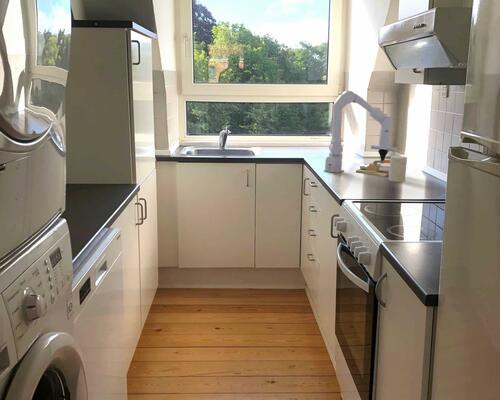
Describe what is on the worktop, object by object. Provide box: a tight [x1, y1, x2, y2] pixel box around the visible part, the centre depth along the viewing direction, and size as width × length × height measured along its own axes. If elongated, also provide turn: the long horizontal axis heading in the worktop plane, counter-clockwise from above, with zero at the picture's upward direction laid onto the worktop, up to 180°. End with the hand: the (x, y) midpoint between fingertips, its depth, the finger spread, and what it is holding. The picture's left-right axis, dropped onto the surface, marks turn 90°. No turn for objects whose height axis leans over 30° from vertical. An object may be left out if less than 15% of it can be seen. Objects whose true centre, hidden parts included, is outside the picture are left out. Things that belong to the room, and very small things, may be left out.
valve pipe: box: [359, 162, 390, 173], centre depth 305 cm, size 4×16×4 cm, turn 53°
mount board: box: [355, 168, 389, 177], centre depth 306 cm, size 10×17×1 cm, turn 53°
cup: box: [388, 155, 408, 183], centre depth 285 cm, size 8×8×12 cm
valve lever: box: [372, 159, 390, 164], centre depth 306 cm, size 12×2×2 cm, turn 105°
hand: (382, 163), depth 308 cm, fingers closed, pressing on valve lever
